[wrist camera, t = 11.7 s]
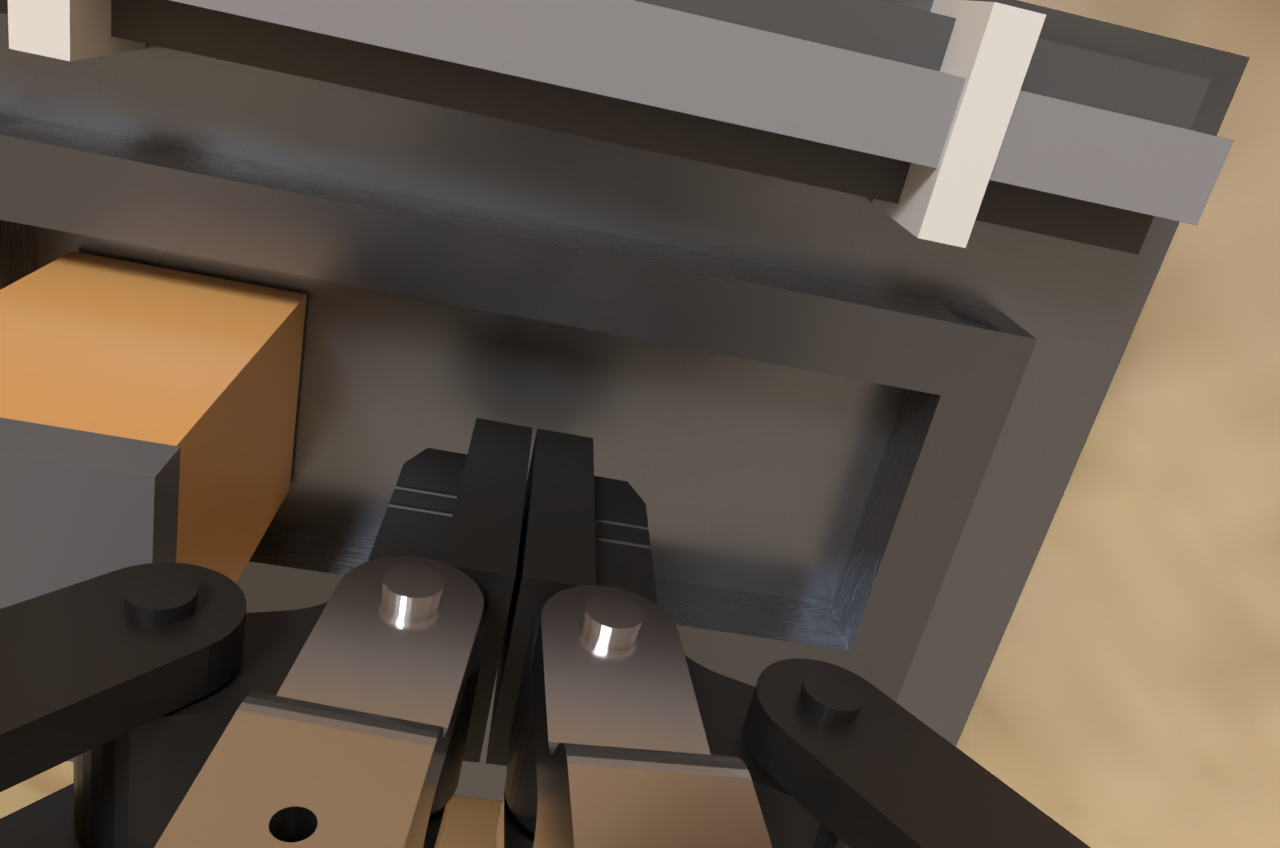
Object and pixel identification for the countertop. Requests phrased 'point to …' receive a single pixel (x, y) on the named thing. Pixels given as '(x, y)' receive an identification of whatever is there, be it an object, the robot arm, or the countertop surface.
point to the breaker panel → (622, 341)
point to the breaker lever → (140, 420)
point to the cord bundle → (746, 92)
